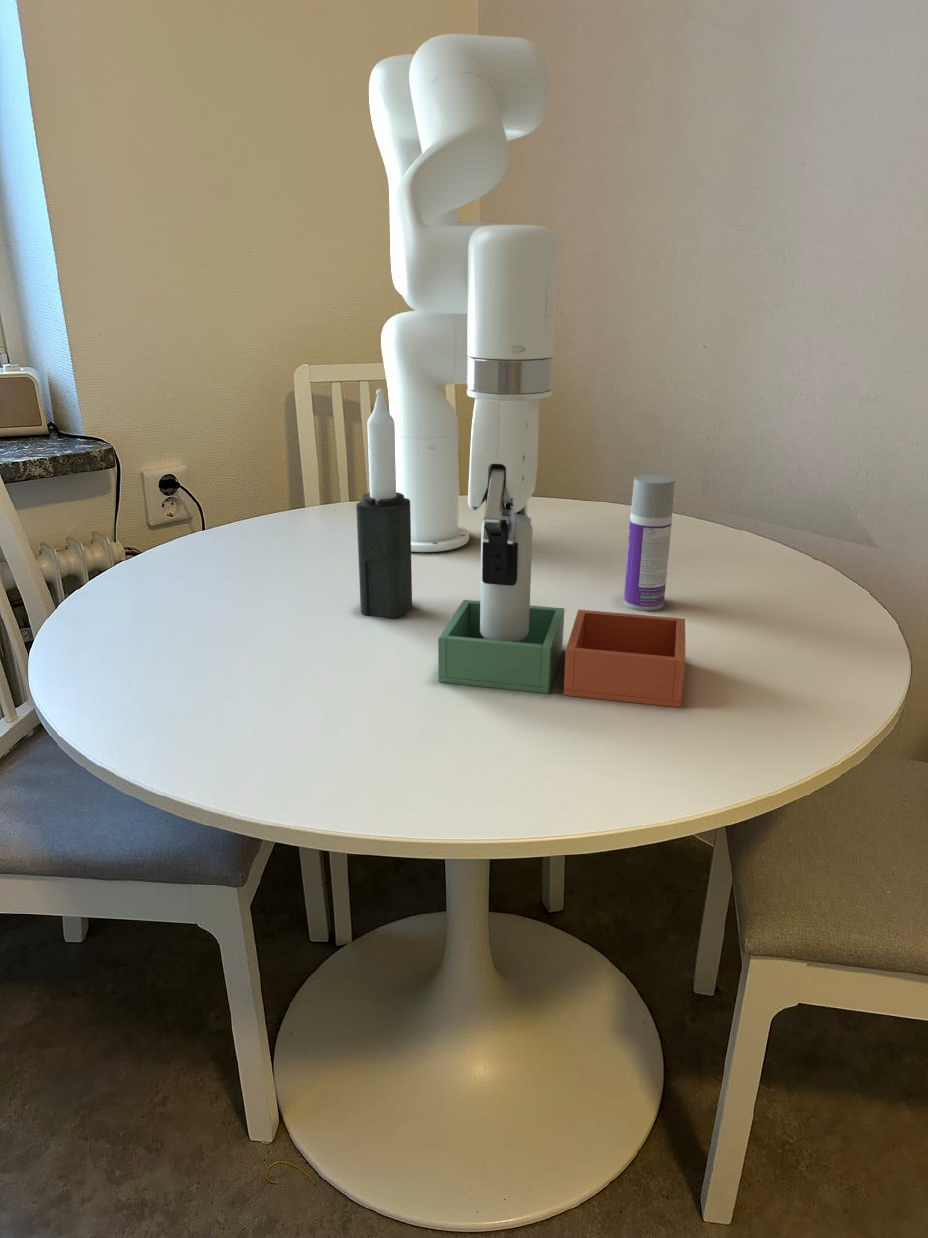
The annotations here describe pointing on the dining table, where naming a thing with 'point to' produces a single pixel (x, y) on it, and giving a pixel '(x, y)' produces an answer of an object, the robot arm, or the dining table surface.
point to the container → (649, 542)
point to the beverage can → (509, 593)
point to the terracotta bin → (626, 658)
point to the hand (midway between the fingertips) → (505, 572)
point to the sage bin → (501, 651)
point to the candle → (383, 525)
